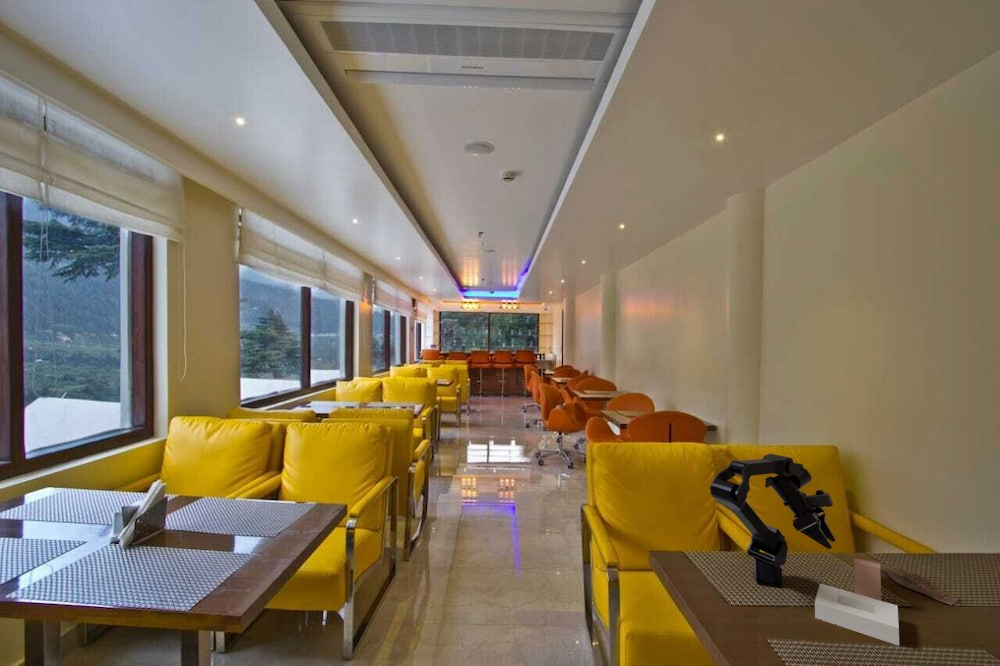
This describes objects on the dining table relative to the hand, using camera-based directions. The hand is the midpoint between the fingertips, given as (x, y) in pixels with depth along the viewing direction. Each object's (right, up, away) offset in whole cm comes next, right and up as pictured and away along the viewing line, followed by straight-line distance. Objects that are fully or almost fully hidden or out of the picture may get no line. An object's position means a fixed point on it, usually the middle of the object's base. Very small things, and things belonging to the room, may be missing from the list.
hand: (832, 544), depth 126 cm
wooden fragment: (+26, -14, +4) cm, 30 cm away
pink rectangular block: (+6, -13, -5) cm, 15 cm away
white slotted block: (-5, -12, -14) cm, 19 cm away
